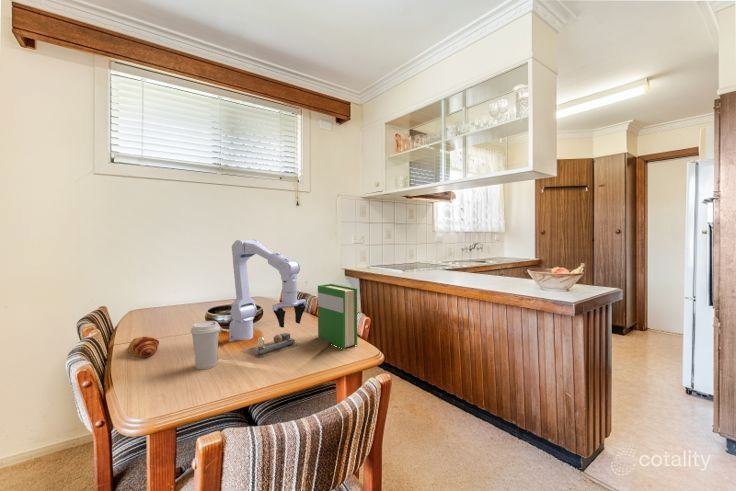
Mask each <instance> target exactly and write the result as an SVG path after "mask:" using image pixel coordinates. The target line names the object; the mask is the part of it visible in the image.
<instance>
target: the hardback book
mask: <svg viewBox="0 0 736 491" xmlns="http://www.w3.org/2000/svg"><path fill="white" fill-rule="evenodd" d="M317 334H318V335H317V337H318V339H321V340H323V341H326V342H329V343H330V344H332V345H335V346H337V347H340V348H342V349H345V350H346V348H348V347H351V346H353V345H357V346H358V288H356V287H355V288H354V287H350V286H344V285H339V284H335V283H329V284H328V283H326V284H320V285H317ZM332 345H331V346H332ZM337 347H336V348H337Z"/></svg>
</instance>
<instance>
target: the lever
mask: <svg viewBox="0 0 736 491" xmlns="http://www.w3.org/2000/svg"><path fill="white" fill-rule="evenodd" d="M295 342H296V341H295V338H291V337H290V338H288V339H287V340H285V341H282V342H279V343H276V344H273V345H269V346H266V347H264V344H265V337H264V336H258V337H257V346H258V349H257V350H258V354H263V353H266V352H269V351H272V350H275V349H278V348H281V347H285V346H288V345H291V344H294V343H295Z"/></svg>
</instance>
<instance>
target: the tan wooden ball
mask: <svg viewBox="0 0 736 491" xmlns="http://www.w3.org/2000/svg"><path fill="white" fill-rule="evenodd" d="M282 339H283V338H282V336H281V335H280V334H275V336H274V337H273V341H274V342H275V343H279V342H282Z"/></svg>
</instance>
